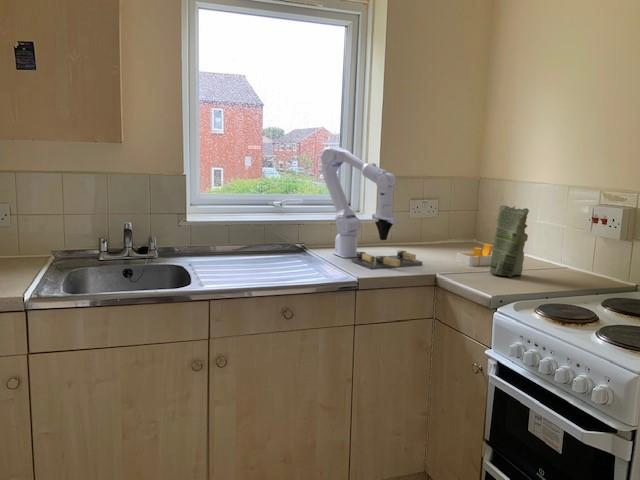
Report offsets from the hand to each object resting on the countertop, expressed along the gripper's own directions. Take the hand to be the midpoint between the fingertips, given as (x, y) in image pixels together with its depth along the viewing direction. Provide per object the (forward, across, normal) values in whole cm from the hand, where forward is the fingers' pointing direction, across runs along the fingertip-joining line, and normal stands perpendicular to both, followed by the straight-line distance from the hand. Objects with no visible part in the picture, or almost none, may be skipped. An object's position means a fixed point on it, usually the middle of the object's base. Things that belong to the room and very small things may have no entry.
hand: (383, 239), depth 221 cm
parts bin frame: (+8, +15, +36) cm, 40 cm away
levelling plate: (+8, +4, 0) cm, 9 cm away
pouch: (+9, +36, +30) cm, 47 cm away
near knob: (+7, +11, -5) cm, 14 cm away
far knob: (+7, +5, +8) cm, 12 cm away
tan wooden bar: (+7, +2, -9) cm, 12 cm away
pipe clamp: (+8, +15, +36) cm, 40 cm away
